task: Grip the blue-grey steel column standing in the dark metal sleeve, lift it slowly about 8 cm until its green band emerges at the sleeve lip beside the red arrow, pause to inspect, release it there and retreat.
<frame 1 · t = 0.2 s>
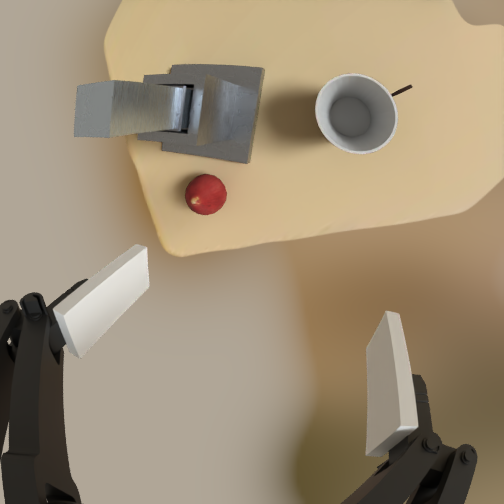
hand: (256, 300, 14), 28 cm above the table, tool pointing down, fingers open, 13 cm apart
column: (165, 107, 26), point 13 cm above the table, slide at 0.0 cm
coffee mug: (360, 116, 32), on the table
onion: (216, 188, 42), on the table
stand: (211, 110, 37), on the table
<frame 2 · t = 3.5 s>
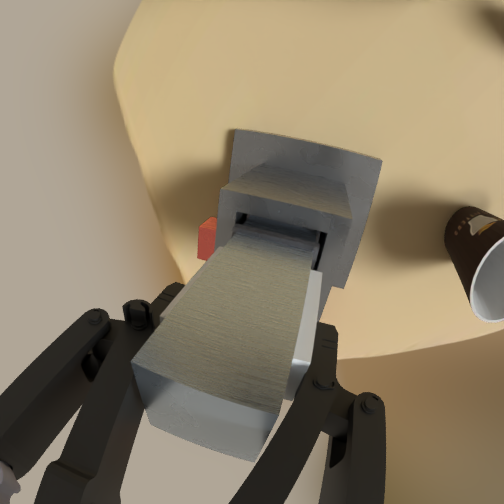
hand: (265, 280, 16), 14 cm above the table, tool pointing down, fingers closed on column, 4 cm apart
column: (271, 266, 17), point 13 cm above the table, slide at 0.0 cm, touching gripper
coffee mug: (477, 233, 23), on the table
stand: (296, 207, 28), on the table
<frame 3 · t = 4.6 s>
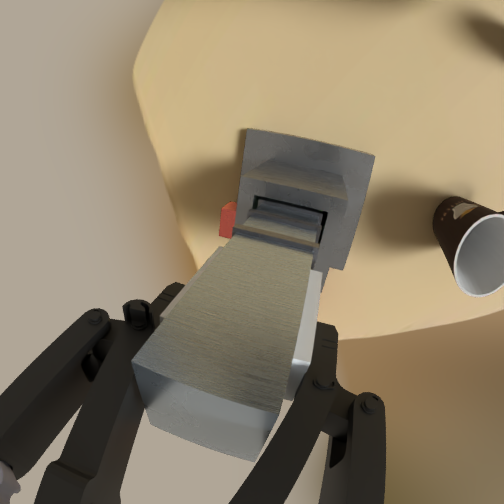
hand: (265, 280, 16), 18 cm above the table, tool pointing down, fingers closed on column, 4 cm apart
column: (271, 266, 17), point 17 cm above the table, slide at 4.1 cm, touching gripper
coffee mug: (463, 221, 27), on the table
stand: (300, 198, 32), on the table
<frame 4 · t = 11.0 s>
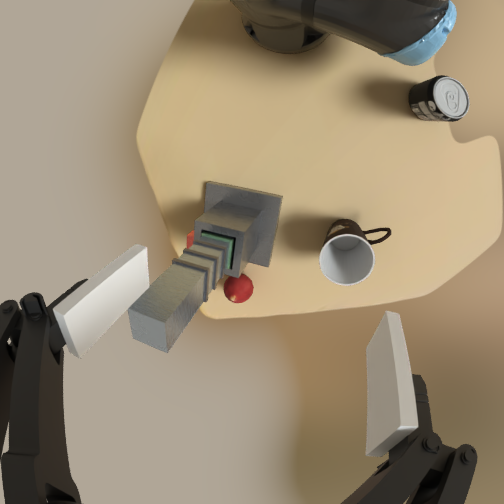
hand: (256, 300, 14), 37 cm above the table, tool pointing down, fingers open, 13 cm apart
beverage can: (424, 102, 35), on the table
column: (192, 277, 36), point 21 cm above the table, slide at 8.0 cm
coffee mug: (353, 235, 49), on the table
onion: (244, 278, 59), on the table
stand: (240, 223, 53), on the table
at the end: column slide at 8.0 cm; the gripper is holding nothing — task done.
